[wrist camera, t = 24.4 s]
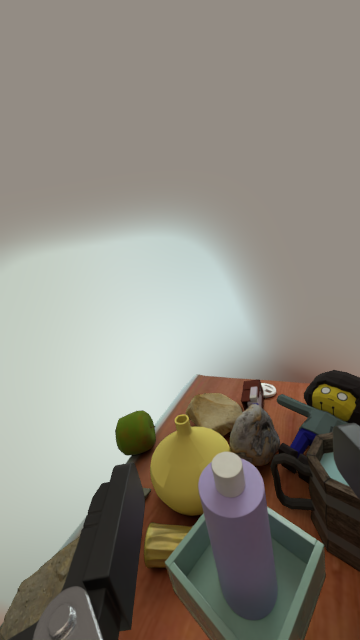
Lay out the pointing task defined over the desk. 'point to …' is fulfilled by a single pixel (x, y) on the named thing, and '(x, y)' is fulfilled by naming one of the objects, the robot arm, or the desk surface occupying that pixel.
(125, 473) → the robot arm
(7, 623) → the stone slab
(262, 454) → the stone
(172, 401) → the desk surface
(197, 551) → the basin
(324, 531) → the mug
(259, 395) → the toy
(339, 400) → the toy
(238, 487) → the detergent bottle
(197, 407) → the stone
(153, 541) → the vase
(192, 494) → the vase
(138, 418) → the apple
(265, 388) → the pendant
